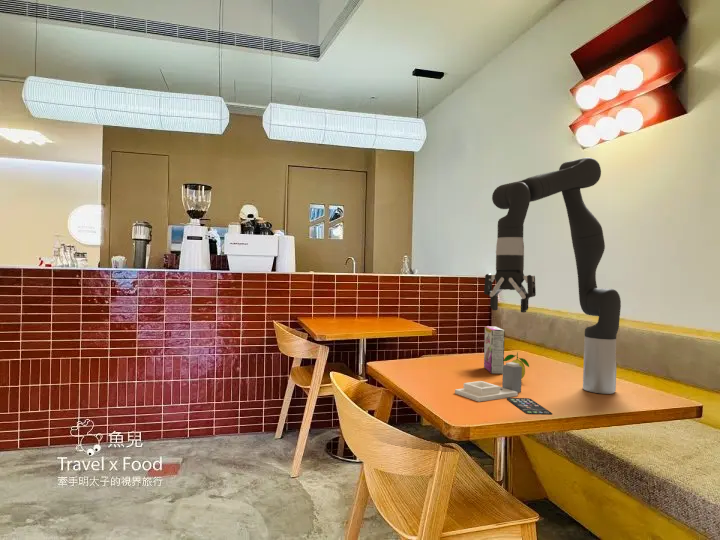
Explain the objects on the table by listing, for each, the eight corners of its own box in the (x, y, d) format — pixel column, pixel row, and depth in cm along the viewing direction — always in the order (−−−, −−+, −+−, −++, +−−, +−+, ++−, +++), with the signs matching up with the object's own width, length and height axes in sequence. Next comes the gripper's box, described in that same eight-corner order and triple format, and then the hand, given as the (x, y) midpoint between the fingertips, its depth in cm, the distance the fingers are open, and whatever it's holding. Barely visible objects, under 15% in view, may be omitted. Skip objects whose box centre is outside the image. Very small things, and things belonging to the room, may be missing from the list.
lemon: (502, 380, 163) (503, 351, 163) (511, 378, 167) (512, 350, 167) (520, 384, 158) (521, 354, 158) (529, 382, 162) (530, 353, 162)
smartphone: (526, 413, 124) (505, 397, 139) (526, 416, 124) (505, 399, 139) (553, 414, 124) (530, 398, 139) (553, 416, 124) (529, 400, 139)
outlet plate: (492, 388, 151) (493, 378, 151) (517, 396, 143) (517, 385, 143) (454, 393, 143) (455, 382, 143) (478, 401, 134) (479, 390, 134)
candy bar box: (482, 367, 185) (484, 325, 185) (495, 368, 185) (497, 326, 185) (490, 373, 173) (491, 329, 174) (504, 374, 173) (505, 329, 173)
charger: (511, 389, 151) (512, 361, 151) (521, 392, 148) (522, 364, 148) (502, 390, 149) (503, 362, 149) (512, 393, 146) (513, 364, 146)
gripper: (540, 254, 131) (538, 312, 132) (492, 254, 141) (491, 308, 141) (529, 253, 126) (528, 314, 126) (480, 253, 135) (479, 310, 136)
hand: (508, 311), depth 134 cm, fingers open, 8 cm apart
